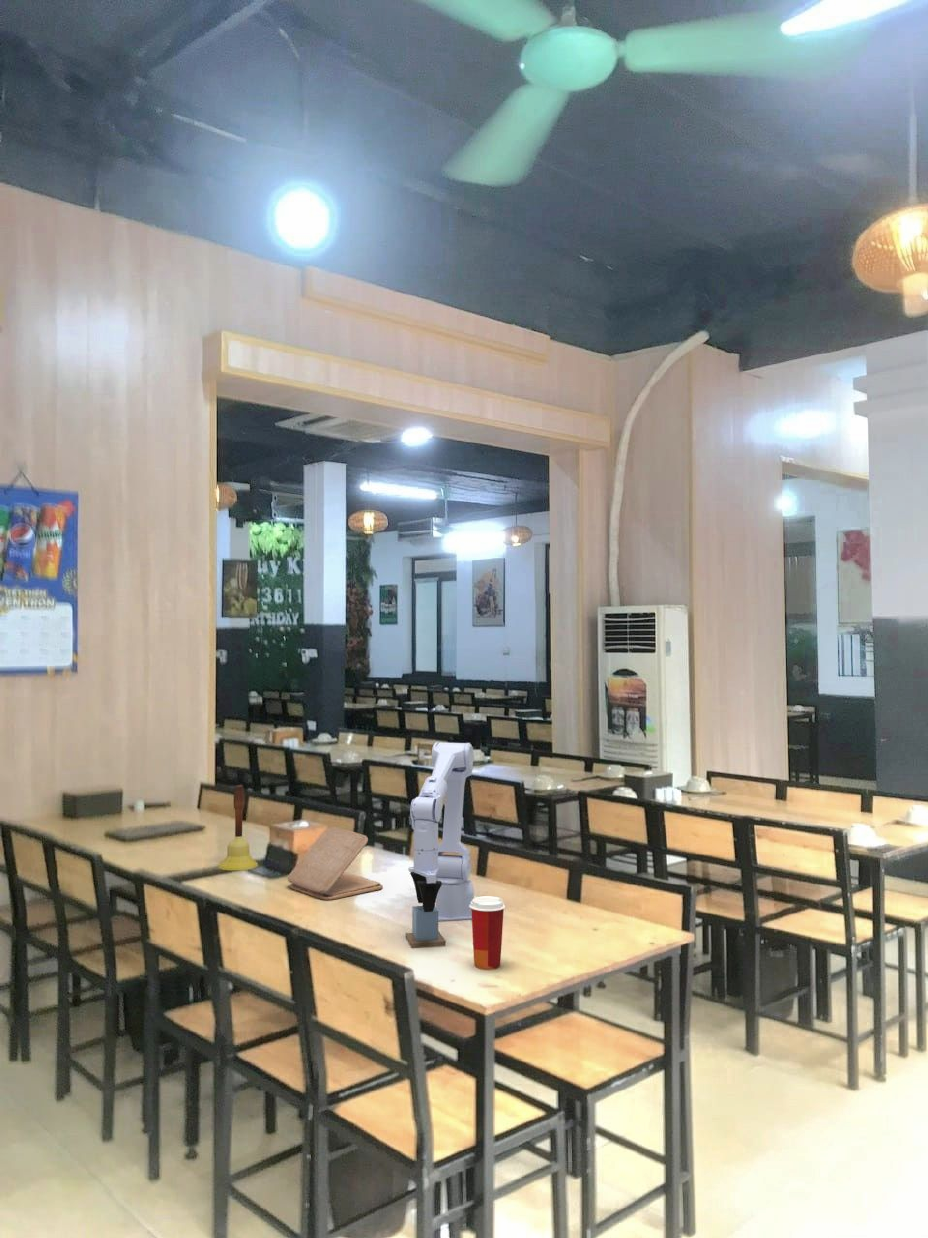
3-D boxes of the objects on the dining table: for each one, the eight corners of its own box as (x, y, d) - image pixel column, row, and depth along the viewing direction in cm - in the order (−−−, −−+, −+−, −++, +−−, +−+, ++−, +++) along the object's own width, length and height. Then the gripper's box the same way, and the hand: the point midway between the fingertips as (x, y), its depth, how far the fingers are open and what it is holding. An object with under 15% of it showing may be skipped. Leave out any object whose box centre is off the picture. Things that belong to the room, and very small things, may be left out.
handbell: (216, 862, 303) (217, 783, 304) (256, 860, 307) (257, 781, 308) (218, 871, 292) (219, 788, 292) (260, 869, 295) (261, 787, 296)
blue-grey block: (433, 933, 227) (434, 905, 227) (438, 940, 222) (438, 911, 222) (412, 934, 226) (412, 906, 226) (416, 941, 221) (416, 912, 221)
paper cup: (503, 959, 212) (503, 895, 212) (506, 971, 204) (506, 905, 204) (468, 959, 211) (468, 895, 212) (469, 971, 204) (469, 905, 204)
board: (438, 935, 229) (438, 931, 229) (445, 945, 221) (445, 941, 221) (405, 937, 227) (405, 933, 227) (411, 948, 219) (411, 943, 219)
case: (284, 888, 273) (284, 832, 273) (345, 876, 287) (345, 822, 287) (323, 904, 258) (324, 844, 258) (386, 890, 272) (387, 833, 272)
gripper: (403, 843, 231) (403, 899, 230) (414, 856, 217) (413, 916, 216) (432, 841, 232) (432, 898, 232) (444, 854, 218) (444, 915, 218)
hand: (425, 907), depth 224 cm, fingers open, 7 cm apart
